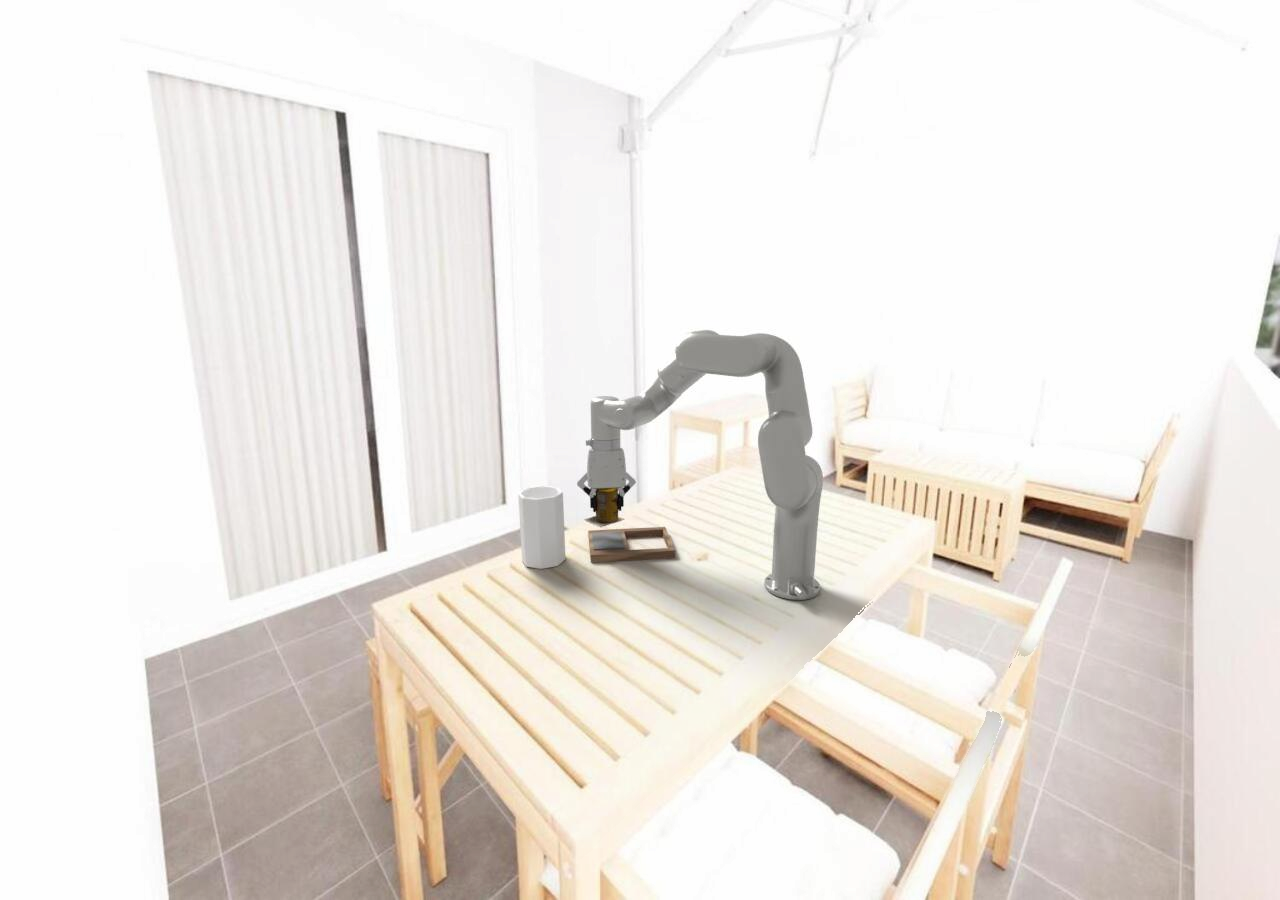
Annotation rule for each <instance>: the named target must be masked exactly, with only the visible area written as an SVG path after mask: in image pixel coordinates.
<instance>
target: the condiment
mask: <svg viewBox="0 0 1280 900" xmlns="http://www.w3.org/2000/svg"><path fill="white" fill-rule="evenodd" d="M618 493H619V491H618V489H617V488H604V489H596V492H595V496H596V512H595V515H594V516H592V517H588V518H587V517H586V518H584V519H583V520H584V521H585V522H587V523H589V524H591V525H593V526H596V527H597V528H598V527H599V528H604V527H607V526H609V525H612V524H616V523H619V522H621V521H625V518H624V517H621V516H619V510H618Z"/></svg>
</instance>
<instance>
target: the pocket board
mask: <svg viewBox="0 0 1280 900" xmlns="http://www.w3.org/2000/svg"><path fill="white" fill-rule="evenodd" d="M587 532H588V536H587V537H588V545H589V546H588V547H589V556H590V563H602V562H603V563H605V562H606V563H607V562H620V561H621V562H622V561H623V562H624V561H625V562H626V561H642V560H658V559H661V560H662V559H675V558H676V549H675V546H674V544H673V541H672V540H671V537H670V535H669V533H668V530H667V528H666V526H656V527H655V526H654V527H634V528H633V527H632V528H615V529H613V528H612V529H595V530H594V529H593V530H587ZM652 537H662V538H663V541H664V543H665V545H666V547H657V548H642V549H629V545H628V542H627V539H632V538H634V539H635V538H652Z"/></svg>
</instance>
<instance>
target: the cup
mask: <svg viewBox="0 0 1280 900" xmlns="http://www.w3.org/2000/svg"><path fill="white" fill-rule="evenodd" d="M517 495H518V496H517V498H518V512H519V513H518V514H519V515H518V516H519V527H520V528H519V529H520V549H521V561H522V562H523V563H524V565H525V567H527V568H532V569H539V570H544V569H550V568H554V567H558V566H559V565H560V564H562V563H563V562H564V561H565V560H566V539H565V538H566V537H565V535H566V534H565V517H564V516H565V510H564V492H563V491H562V490H561V489H560V488H559V487H555V486H550V485H549V486H547V485H539V486H532V487H527V488H525V489H523V490H521V491H519V492H518V493H517Z"/></svg>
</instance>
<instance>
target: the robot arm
mask: <svg viewBox="0 0 1280 900" xmlns="http://www.w3.org/2000/svg"><path fill="white" fill-rule="evenodd" d="M799 357H800V356H799V355H798V353H797V352H796V350H795V349H794V347H793V346H792V345H791V344H790V343H788V341H786V340H784V339H783V338H781V337H779V336H777V335H772V334H770V333H765V332H764V333H763V332H762V333H760V332H759V333H758V332H757V333H751V334H746V335H729V334H727V335H725V334H719V333H718V332H716V331H715V330H714V331H713V330H710V329H703V330H694V331H691V332H687V333H686V334H684V335H683V336H682V337H681V338H680V339H679V340H678V341H677V344H676V346H675V349H674V353H673V354H672V355H671V356H669V357H668V358H667V359H666V360H665V361H663V362H662V363H661V364H660V365H659V366H658V368H657V375H658V376H657V378H656V379H655V380H654V381H653V383H651V384H650V385H649V386H648V387H647V388H646V389H644V390H643V391H642V392H641V393H640V394H638V395H635V396H631V397H629V398H626V399H621V400H619V398H618V397H615V396H612V395H611V396H610V395H602V396H601V395H600V396H596V397H595V396H594V397H593V398H592V399H591V401H590V426H591V427H590V431H591V432H590V433H591V435H590V438H589V439H588V440H585V446H589V447H590V448H589V450H588V453H587V454H588V455H587V463H586V464H587V466H586V473H585V474H584V475H583V476H582V477H581V478H580V479H578V481H577V482H576V485H577V487H578V488H580V489H581V490H582V491H583V492H584V493H586V494H585V495H588V496H589V502H590V503H589V505H590V508H591V509H592V512H593V513H596V496H595V492H596V489H604V488H617V489H618V512H622V508H624V504H625V503H624V497H625V496H626V494H627V493H629V491H630V490H631V488H633V486H634V485H636V483H637V481H636V479H635V478H634V477H633V476H631V474H629V473H628V472H627V467H626V466H627V464H626V463H627V462H626V457H625V456H626V455H625V450H624V448H622V447H621V431H631V430H634V429H636V428H639V427H641V426H644V425H646V424H649V423H651V422H652V421H654V420H655V419H656V418H658V417H659V416H660V415H661V414H662V413H664V412H666V410H668V409H669V408H670V407H671V406H672V405H673V404H674V403H675V402H676V401H677V400H678V399H679V398H680V397H681V396H682V395H683V394H684V393H685V392H686V391H687V390H688V389H689V388H691V387H693V385H694V384H696V383H697V382H699V380H700V379H702V378H703V377H704V376H705V375H708V374H709V375H716V376H717V375H718V376H727V377H734V378H735V377H737V378H738V377H739V378H746V377H751V376H754V375H756V374H759V373H762V375H763V377H764V382H765V383H764V384H765V385H764V386H765V387H764V389H765V392H764V393H765V398H766V403H767V408H768V409H767V411H768V418H766V419H765V420H764V421H763V423H762V424H761V426H760V428H759V431H758V434H757V436H758V437H757V446H758V453H759V461H760V465H761V471H762V472H761V473H762V479H763V484H764V488H765V489H764V490H765V491H766V492H765V493H766V495H767V497H768V499H769V500H770V502H771V503H772V504H773V505H774V506H775V509H774V511H775V512H774V521H773V522H774V523H773V524H774V525H773V526H774V527H773V539H772V540H773V542H772V543H773V544H772V545H773V546H772V559H771V560H772V563H771V565H772V566H771V573H770V574H768V575H767V576H766V577H765V578H764V587H765V590H767V591H768V592H769V593H770V594H772V595H773V596H776V597H778V598H783V599H787V600H793V601H794V600H795V601H803V600H805V601H806V600H810V599H813V598H815V597H816V596H818V595H819V594H820V593H821V585H820V582H819V581H818V580H817V579H815V571H816V570H815V569H816V556H817V555H816V552H817V538H818V528H819V527H818V526H819V514H820V505H821V498H822V492H823V485H824V484H823V483H824V476H823V469H822V468H821V466H820V463H819V462H818V461H817V460H816V459H814V458H813V457H811V456H810V455H807V454H806V448H805V447H806V446H807V445H808V444H809V443H810V441H811V439H812V438H813V423H812V420H811V414H810V408H809V400H808V394H807V390H806V384H805V378H804V372H803V367H802V363H801V360H800V358H799ZM627 481H628V482H627ZM586 482H587V485H586Z"/></svg>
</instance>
